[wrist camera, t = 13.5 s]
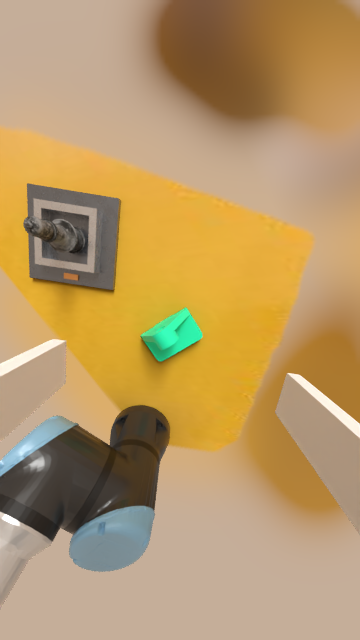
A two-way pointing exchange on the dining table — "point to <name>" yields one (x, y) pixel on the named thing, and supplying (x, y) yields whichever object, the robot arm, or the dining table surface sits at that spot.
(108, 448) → the robot arm
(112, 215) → the plate
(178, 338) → the camera mount
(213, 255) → the dining table surface
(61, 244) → the gray metallic stepped cylinder
